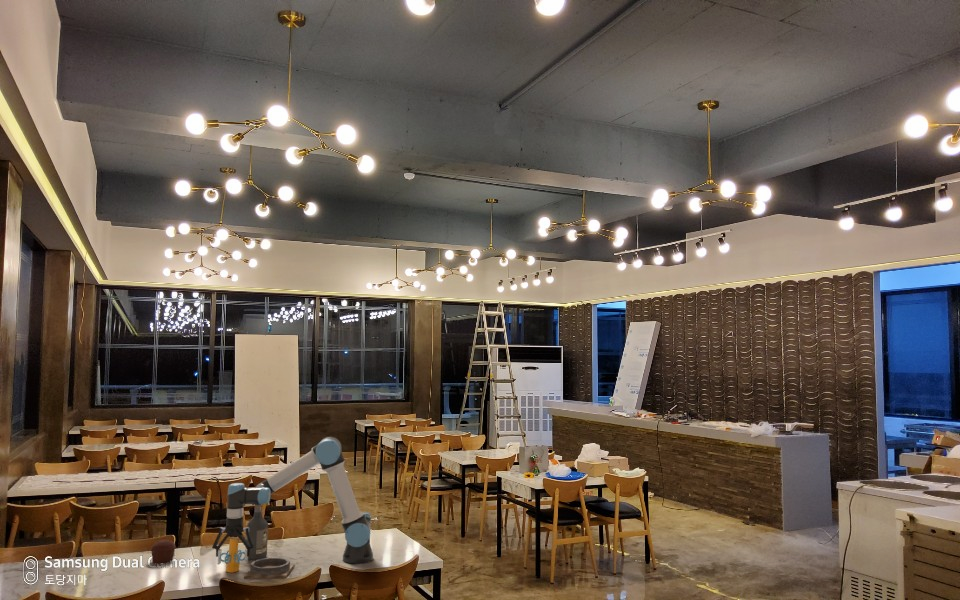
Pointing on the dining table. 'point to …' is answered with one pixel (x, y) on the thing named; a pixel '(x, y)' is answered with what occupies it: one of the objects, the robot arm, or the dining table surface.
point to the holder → (270, 568)
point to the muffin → (163, 551)
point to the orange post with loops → (232, 556)
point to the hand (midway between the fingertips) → (232, 563)
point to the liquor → (258, 534)
